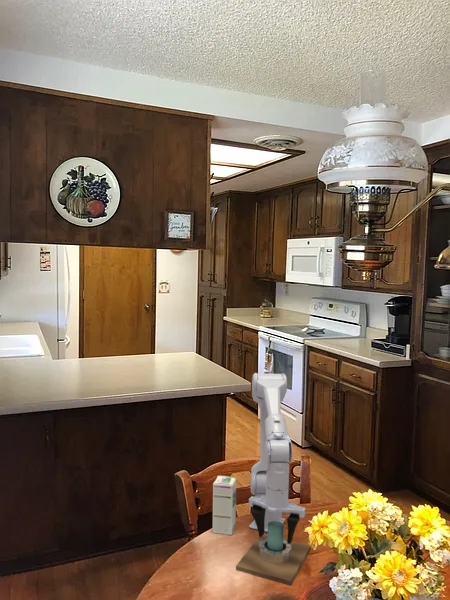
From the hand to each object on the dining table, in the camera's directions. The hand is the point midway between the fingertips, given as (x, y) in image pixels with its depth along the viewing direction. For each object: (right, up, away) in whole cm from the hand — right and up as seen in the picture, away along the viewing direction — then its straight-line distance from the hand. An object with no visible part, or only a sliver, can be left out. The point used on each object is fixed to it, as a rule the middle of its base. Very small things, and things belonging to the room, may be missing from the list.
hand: (275, 538), depth 132 cm
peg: (0, -4, 0) cm, 4 cm away
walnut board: (0, -5, 0) cm, 5 cm away
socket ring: (0, -5, 0) cm, 5 cm away
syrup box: (-13, -5, +15) cm, 20 cm away
